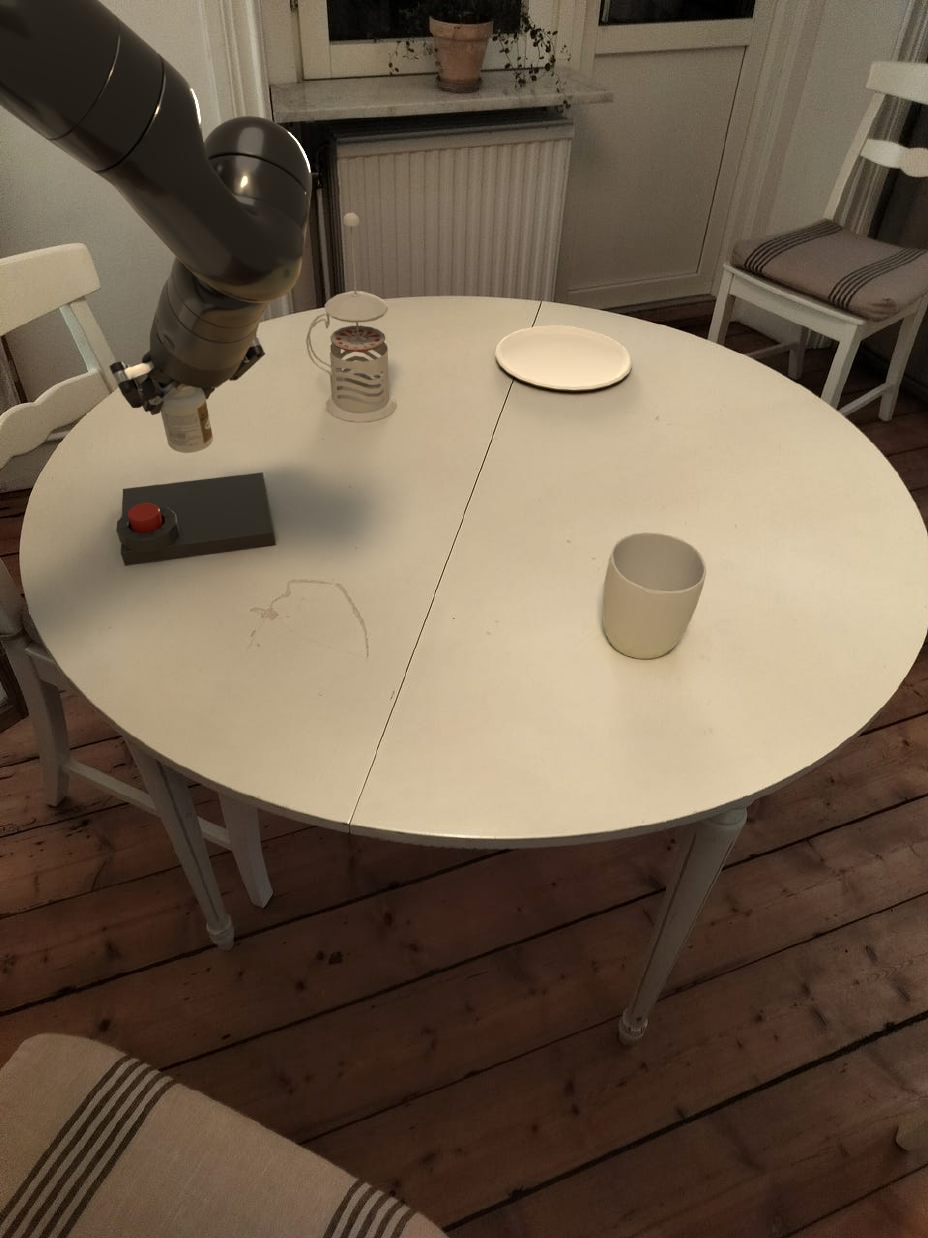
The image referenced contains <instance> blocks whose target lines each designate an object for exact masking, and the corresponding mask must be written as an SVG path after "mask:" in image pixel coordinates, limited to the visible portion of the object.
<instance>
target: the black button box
mask: <svg viewBox="0 0 928 1238" xmlns="http://www.w3.org/2000/svg"><path fill="white" fill-rule="evenodd" d="M121 503H122V504H121V516H120V518H119V519H118V520H116V533H117V537H118V540H119V543H120V556H121V559H122V562H123V565H124V566H126V567H127V566H132V565H139V564H145V563H155V562H162V561H168V560H169V561H170V560H176V559H184V558H191V557H198V556H206V555H212V554H213V555H214V554H220V553H226V552H235V551H242V550H249V549H256V548H264V547H265V548H266V547H272V546H276V545H277V544H276V537H275V536H276V535H275V530H274V524H273V520H272V513H271V509H270V503H269V497H268V492H267V486H266V480H265V474H264V472H254V473H246V474H236V475H229V476H220V477H212V478H204V479H196V480H195V479H194V480H186V481H185V480H184V481H178V482H169V483H161V484H152V485H143V486H137V487H136V486H134V487H126V488H122V501H121ZM143 503H151V504H154V505H156V506H158V508H159V510H160V514H161V517H162V521H163V524H162V526H161V528H159V529H157V530H155V531H153V532H149V533H137V532H135V531H133V529H132V527H131V524H130V520H129V517H128V512H129V510H130V509H131V508H132V507H134V506H136V505H139V504H143Z"/></svg>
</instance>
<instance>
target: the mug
mask: <svg viewBox="0 0 928 1238" xmlns="http://www.w3.org/2000/svg"><path fill="white" fill-rule="evenodd" d="M706 575H707V568H706V563H705V560H704V558H703V556H702V554H701V553H700V552H699V550H698V549H697V548H696V547H695V546H694V545H692V544H690V543H689V542H687V541H686V540H684V539H682V538H680V537H678V536H674V535H670V534H666V533H661V532H647V531H646V532H645V531H643V532H635V533H631V534H628V535H626V536H624V537H621V538H620V539H618V540H617V542H616V543H615V544H614V545H613V547H612V549H611V552H610V554H609V558H608V562H607V566H606V570H605V576H604V583H603V592H602V620H603V625H604V626H603V627H604V631H605V635H606V636H607V638H608V642H609V643H610V644H611V646H612V647H613V648H614V649H615V650H617V652H619V653H621V654H623V655H625V656H627V657H631V658H635V659H650V660H651V659H655V658H659V657H662V656H664V655H665V654H667V653H668V652H670V651H671V650H672V649H673V648H674V647H675V646H676V645H678V643H679V641H680V639H681V638H682V637H683V635H684V633H685V632H686V630H687V628H688V627H689V624H690V622H691V620H692V617H693V615H694V614H695V611H696V610H697V609H696V608H697V606H698V603H699V600H700V597H701V594H702V592H703V588H704V584H705V581H706Z"/></svg>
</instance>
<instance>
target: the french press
mask: <svg viewBox="0 0 928 1238" xmlns="http://www.w3.org/2000/svg"><path fill="white" fill-rule="evenodd" d="M342 220H343V225H344V226H347V227H350V234H351V235H350V237H351V251H352V252H351V253H352V254H351V255H352V270H353V289H354V290H351V291H347V292H343V293H339V294H336V295H334V296H333V297H331V298H330V299H328V300H327V302H326V303H324V311H325V312H323V313H321V314H319V315H318V316H316V317H315V318H314V319H313V320H312V321H311V323H310V325H309V327H308V332H307V334H306V338H305V343H306V350H307V353H308V357H309V359H310V360H311V361H312V363H313V364H314V365H315V366H316V367H318V368H319V369H321V370H322V371H324V372H326V373H327V374H329V381H330V382H329V383H330V394H331V395H330V396H329V397H328V398H327V400H326V410H327V411H328V412H329V413H330V414H331V415H332V416H333V417H336V418H338V419H341V420H343V421H347V422H355V423H365V422H366V423H367V422H374V421H378V420H381V419H385V418H386V417H388V416H389V415H391V414H393V413H394V411H395V410H396V408H397V406H398V403H397V400H396V397H395V396H393V395H392V393H390V387H389V386H390V382H389V381H390V379H389V377H390V376H389V349H388V345H387V344H386V342H385V340H386V335H385V333H384V332H382V331H381V330H380V329H379V328H375V327H373V326H367V325H362V324H360V325H359V323H368V322H375V321H377V320H379V319H381V318H383V317H384V316H385V315H386V313H387V311H388V310H389V305H388V303H387V302H385V301H384V300H383V299H382V298H381V297H379V296H377V295H375V294H373V293H370V292H366V291H360V290H357V280H356V263H355V262H356V261H355V245H354V229H353V227H356V226H359V225H360V217H359V216H358V215H357V214H356V213H354V212H348V213H346V214H345V215H344V217H343V219H342ZM324 316H326V319H325V318H322V317H324ZM330 317H331V318H332V319H335V320H336V321H340V322H344V323H345V322H346V323H351V324H355V323H356V324H355V325H348V326H343V327H340V328H338V329H336V330H335V331H333V332H332V333H331V335H330V343H331V344H330V347H329V348H330V349H329V350H330V352H329V360H330V363H327V362H326V361H323V360H322V359H321V358H320V357H319V356H318V355H317V354H316V352H315V351H314V348H313V347H312V346H313V345H312V340H311V332H312V330H313V328H314V327H315V326H316V325H317V324H318V323H321V322H322V321H323V322H324V323H325V324H324V325H325V329H329V327H330V321H331V320H330ZM319 318H320V319H319ZM342 350H343V352H342ZM370 351H373V352H375V353H377V354H378V355H379V356H376V354H373V353H372V352H370ZM311 353H312V354H311ZM352 353H362V354H364V355H366V356H368V357H369V358H371V360H370V359H367V358H366V357H365V356H360V355H353V356H350V357H347V358H346V359H343V358H344V357H345V356H347V355H349V354H352ZM312 355H313V356H314V357H315V358H316V360H318V361H319V362H320V363H321V364H323V365H325V366H327V367H329V368H330V371H329V370H328V369H326V368H324V367H322V366H320V365H319V364H318V363H317V362H316V361H315V360H314V357H313V356H312ZM352 371H354V373H350V372H352ZM380 374H382V375H380ZM370 376H373V377H374V378H376V379H373V378H372V377H370ZM381 382H382V383H381Z"/></svg>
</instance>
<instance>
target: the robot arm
mask: <svg viewBox="0 0 928 1238" xmlns="http://www.w3.org/2000/svg"><path fill="white" fill-rule="evenodd" d="M123 21H124V20H122V19H121V18H120V17H118V16H117V15H116V14H115V13H113V12H112V11H111V9H109V8H108V7H107V6H106V5H104V4H103V3H102V2H101V1H100V0H0V107H2V108H3V109H4V110H5V111H7V112H8V113H9V114H11V115H12V116H14V118H16V119H18V120H19V121H20V122H22V123H23V124H25V125H26V126H27V127H29V128H30V129H31V130H33V131H34V132H36V133H37V134H38V135H40V136H41V137H43V138H44V139H46V140H47V141H48V142H50V143H51V144H53V145H54V146H55V147H57V148H58V149H59V150H61V151H63V152H64V153H65V154H67V155H68V156H70V157H71V158H73V159H74V160H75V161H77V162H79V164H82V165H83V166H84V167H86V168H87V169H89V170H90V171H91V172H94V173H95V174H96V175H97V176H99V177H100V178H102V179H104V180H105V181H106V182H107V183H109V184H110V185H112V186H113V187H114V188H115V190H116V191H117V192H118V193H119V194H120V195H121V196H122V198H123V199H124V200H125V201H126V202H127V204H128V205H129V206H130V207H131V209H133V211H134V212H135V213H136V214H137V215H138V216H139V217H140V218H141V219H142V220H143V222H144V223H145V224H147V226H148V227H149V228H150V229H151V230H152V231H153V233H154V234H155V235H156V236H157V237H158V238H159V240H160V241H162V243H163V244H164V245H165V246H166V247H167V248H168V249H169V250H170V252H171V253H172V254H173V255H174V258H173V263H172V267H171V270H170V273H169V276H168V277H167V279H166V280H165V282H164V284H163V286H162V289H161V292H160V294H159V299H158V301H157V305H156V310H155V312H154V313H155V314H154V317H153V320H152V323H151V327H150V332H149V351H147V352H146V353H145V354H144V355H143V356H142V358H141V363H139V364H136V365H134V366H132V364H130V363H127V364H125V362H124V361H115V362H113V363H112V364H110V365H109V370H110V371H111V373H112V376H113V378H114V380H115V382H116V384H117V386H118V388H119V391H120V393H121V395H122V397H124V399H125V400H126V401H127V403H128V405H129V406H130V408H131V409H139V408H143V411H144V412H145V413H148V412H149V413H150V415H151V416H155V415H158V414H161V408H162V405H163V403H164V401H163V400H164V399H165V398H170V397H175V396H176V395H177V394H178V393H179V392H180V391H181V390H182V389H183V388H184V387H188V386H191V387H196V388H201V389H202V390H203V391H204V394H205V398H206V400H208V399H209V398H210V396H211V394H213V393H214V392H215V390H216V389H217V388H220V387H221V386H222V385H223V384H224V383H226V382H227V381H229V382H232V381H235V382H236V381H237V380H239V379H240V378H241V377H243V376H244V374H246V372H248V371H249V370H250V369H251V368H252V367H253V366H255V364H256V363H257V362H259V361H260V360H261V359H262V358H264V356H265V355H266V352H265V350H264V347H263V345H262V343H261V340H260V338H259V336H258V334H257V332H258V329H259V325H260V321H261V320H262V318H263V316H264V314H265V312H266V311H267V309H268V307H269V304H270V302H273V301H277V300H279V299H281V298H283V297H284V296H286V295H287V294H288V293H289V292H291V290H292V289H293V288H294V287H295V286H296V284H297V282H298V280H299V278H300V274H301V271H302V267H303V262H304V253H305V246H306V237H307V229H308V222H309V215H310V214H309V213H310V207H311V200H312V199H311V198H312V190H313V177H312V170H311V166H310V162H309V160H308V158H307V155H306V153H305V151H304V148H303V147H302V146H301V144H300V143H299V141H298V140H297V138H295V136H294V135H292V133H291V132H289V130H287V129H286V128H285V127H283V126H282V125H280V124H279V123H277V122H275V121H273V120H270V119H268V118H264V117H260V116H255V115H245V116H238V117H234V118H230V119H228V120H226V121H224V122H222V123H220V124H219V125H217V126H216V127H215V128H214V129H213V130H211V131H210V133H209V134H208V135H207V136H206V138H205V139H204V136H203V129H202V119H201V112H200V105H199V102H198V99H197V96H196V94H195V92H194V90H193V87H192V86H191V85H190V83H189V82H188V81H187V79H186V78H185V77H184V76H183V75H182V74H181V73H180V72H179V71H178V69H176V68H175V67H174V66H173V65H172V64H171V63H170V62H169V61H168V60H166V58H165V57H163V56H162V55H161V54H160V53H158V52H157V50H156V49H154V47H152V46H151V45H150V44H149V43H147V42H146V41H145V40H144V39H143V38H142V37H141V36H140V35H138V34H137V33H136V32H135V31H134V30H133V29H132V28H131V27H129V26H128V24H126V23H125V22H123Z"/></svg>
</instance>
